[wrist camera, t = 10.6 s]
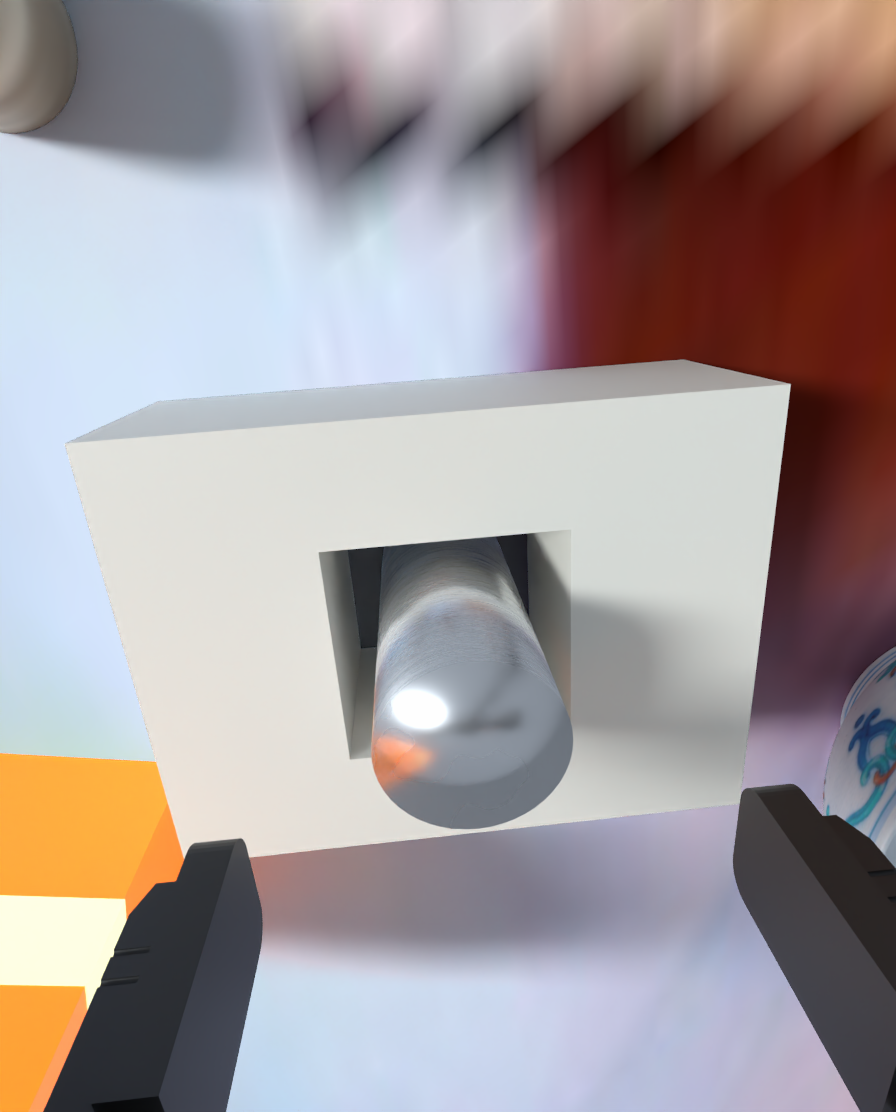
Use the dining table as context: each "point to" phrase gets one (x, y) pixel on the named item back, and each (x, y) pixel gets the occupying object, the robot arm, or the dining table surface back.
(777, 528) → the dining table surface
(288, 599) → the hole block
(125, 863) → the orange juice
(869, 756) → the chinaware
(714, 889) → the dining table surface
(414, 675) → the long pin
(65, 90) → the short pin
